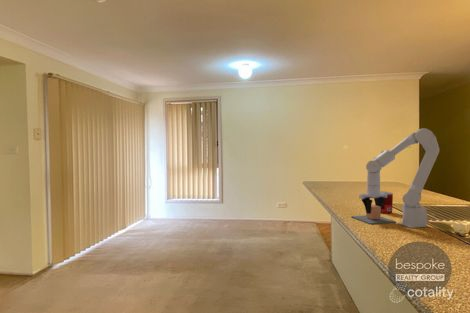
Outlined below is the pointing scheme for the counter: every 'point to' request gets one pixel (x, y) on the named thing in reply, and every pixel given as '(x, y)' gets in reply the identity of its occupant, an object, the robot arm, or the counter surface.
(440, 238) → the counter surface
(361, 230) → the counter surface
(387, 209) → the canned food
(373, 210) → the block
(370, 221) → the mat
